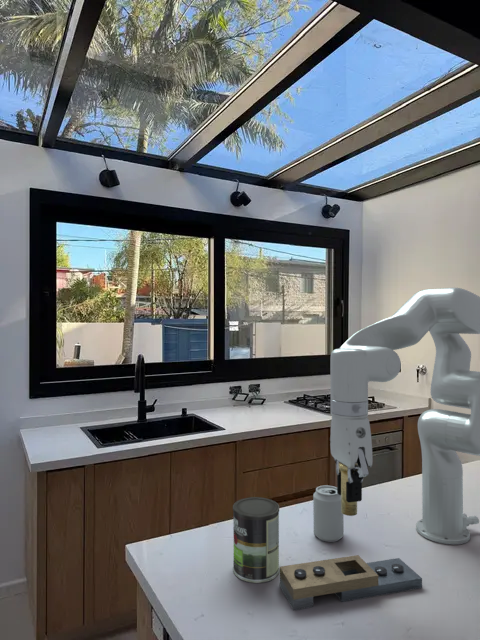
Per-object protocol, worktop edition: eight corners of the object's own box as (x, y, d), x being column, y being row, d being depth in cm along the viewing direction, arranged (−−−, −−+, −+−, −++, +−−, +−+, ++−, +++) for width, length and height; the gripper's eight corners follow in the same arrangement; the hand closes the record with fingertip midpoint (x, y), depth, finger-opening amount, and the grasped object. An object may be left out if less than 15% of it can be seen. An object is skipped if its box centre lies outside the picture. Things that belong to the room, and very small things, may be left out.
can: (344, 544, 109) (343, 495, 109) (313, 542, 110) (312, 493, 110) (343, 530, 116) (342, 484, 116) (314, 528, 117) (313, 482, 117)
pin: (353, 507, 94) (353, 459, 94) (363, 515, 90) (363, 466, 90) (335, 509, 93) (335, 461, 93) (344, 517, 89) (344, 467, 89)
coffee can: (244, 588, 91) (244, 519, 91) (226, 563, 101) (225, 501, 101) (288, 576, 95) (288, 511, 95) (266, 553, 105) (266, 493, 105)
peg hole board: (399, 567, 99) (398, 546, 99) (422, 588, 91) (421, 565, 91) (279, 585, 92) (279, 563, 92) (293, 610, 84) (293, 586, 84)
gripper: (387, 415, 84) (388, 512, 84) (346, 400, 100) (347, 482, 100) (351, 417, 83) (352, 516, 82) (315, 402, 98) (316, 485, 98)
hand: (349, 496), depth 91 cm, fingers closed on pin, 3 cm apart
